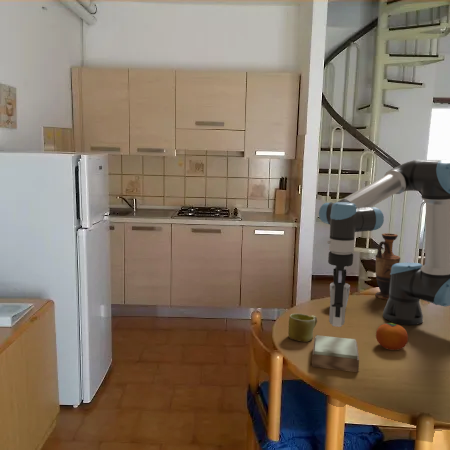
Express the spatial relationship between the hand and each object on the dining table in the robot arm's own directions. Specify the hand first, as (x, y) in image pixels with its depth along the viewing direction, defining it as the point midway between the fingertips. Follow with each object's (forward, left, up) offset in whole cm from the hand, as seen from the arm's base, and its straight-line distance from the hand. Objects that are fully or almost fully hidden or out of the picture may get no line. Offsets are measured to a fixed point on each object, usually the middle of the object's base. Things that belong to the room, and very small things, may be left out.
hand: (336, 322), depth 145 cm
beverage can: (0, 0, -1) cm, 1 cm away
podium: (0, 0, -13) cm, 13 cm away
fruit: (-19, -15, -13) cm, 27 cm away
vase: (-23, -74, -13) cm, 79 cm away
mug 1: (+11, -16, -13) cm, 23 cm away
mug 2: (-2, -52, -13) cm, 54 cm away
